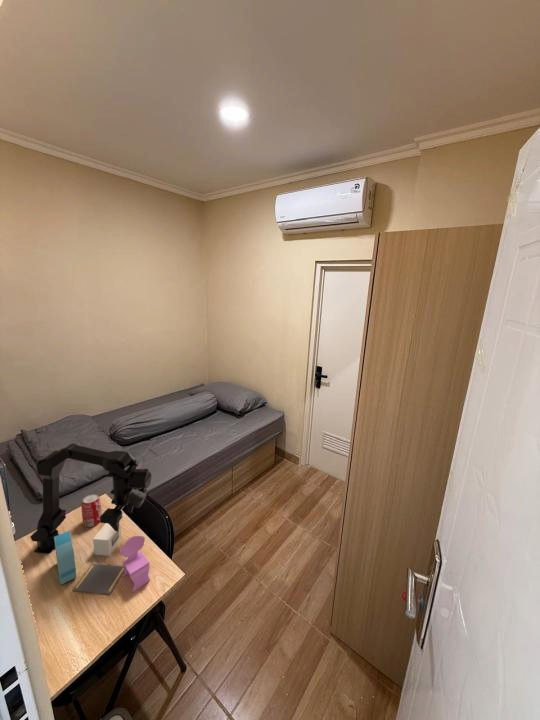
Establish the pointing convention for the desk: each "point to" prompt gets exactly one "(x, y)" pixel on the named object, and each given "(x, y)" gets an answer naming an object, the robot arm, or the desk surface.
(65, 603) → the desk surface
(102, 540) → the white box
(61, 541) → the data package
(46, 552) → the robot arm
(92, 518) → the soda can
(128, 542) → the toy chair
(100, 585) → the mat
